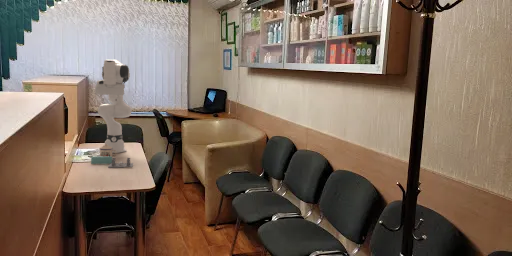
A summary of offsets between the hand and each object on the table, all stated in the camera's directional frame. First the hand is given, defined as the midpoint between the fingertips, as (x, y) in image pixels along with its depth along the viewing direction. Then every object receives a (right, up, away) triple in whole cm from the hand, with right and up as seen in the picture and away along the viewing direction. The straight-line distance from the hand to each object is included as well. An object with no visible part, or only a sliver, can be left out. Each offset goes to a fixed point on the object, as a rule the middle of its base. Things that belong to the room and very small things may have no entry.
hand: (109, 101), depth 302 cm
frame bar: (-5, -46, -3) cm, 46 cm away
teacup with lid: (-4, -44, +9) cm, 45 cm away
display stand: (+11, -47, -9) cm, 49 cm away
